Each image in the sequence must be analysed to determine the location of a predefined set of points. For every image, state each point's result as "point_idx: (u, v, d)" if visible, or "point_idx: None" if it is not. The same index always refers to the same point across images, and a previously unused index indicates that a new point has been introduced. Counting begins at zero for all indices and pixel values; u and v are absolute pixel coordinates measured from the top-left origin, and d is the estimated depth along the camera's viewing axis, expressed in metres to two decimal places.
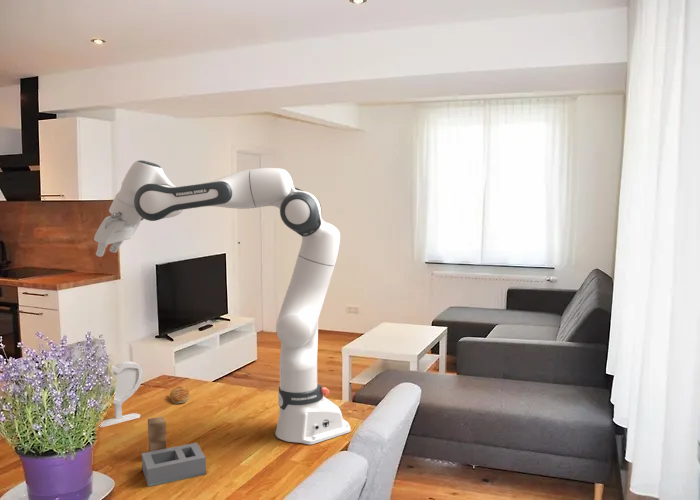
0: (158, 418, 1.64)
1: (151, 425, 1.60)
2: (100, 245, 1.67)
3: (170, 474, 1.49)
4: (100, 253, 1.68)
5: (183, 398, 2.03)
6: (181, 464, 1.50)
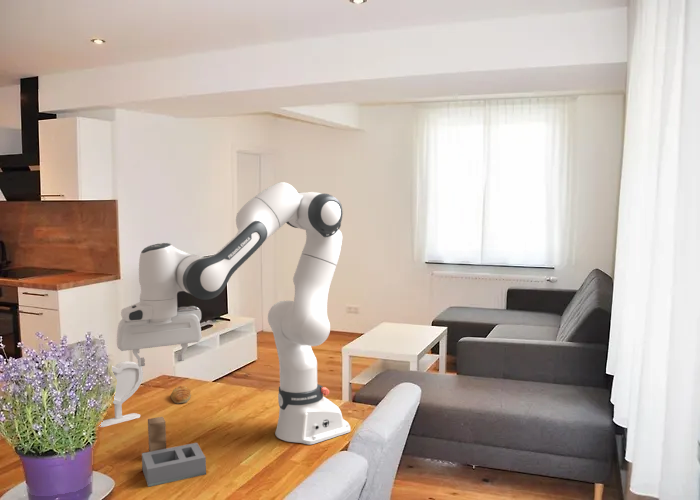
0: (158, 418, 1.64)
1: (151, 425, 1.60)
2: None
3: (170, 474, 1.49)
4: None
5: (185, 398, 2.03)
6: (181, 464, 1.50)
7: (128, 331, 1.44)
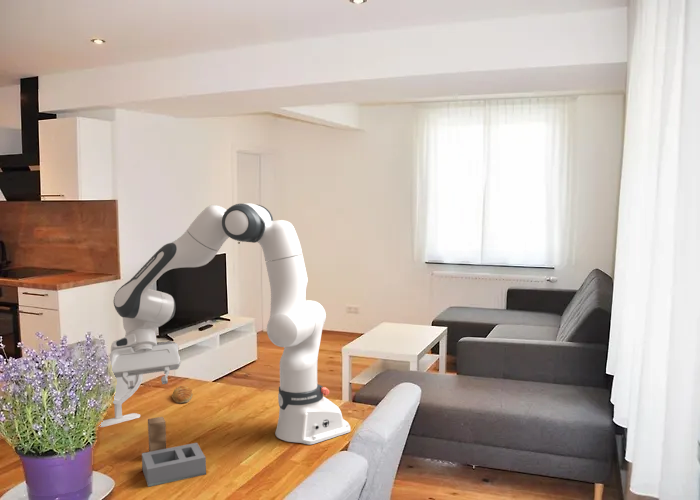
0: (158, 418, 1.64)
1: (151, 425, 1.60)
2: None
3: (170, 474, 1.49)
4: None
5: (186, 397, 2.04)
6: (181, 464, 1.50)
7: (117, 357, 1.73)
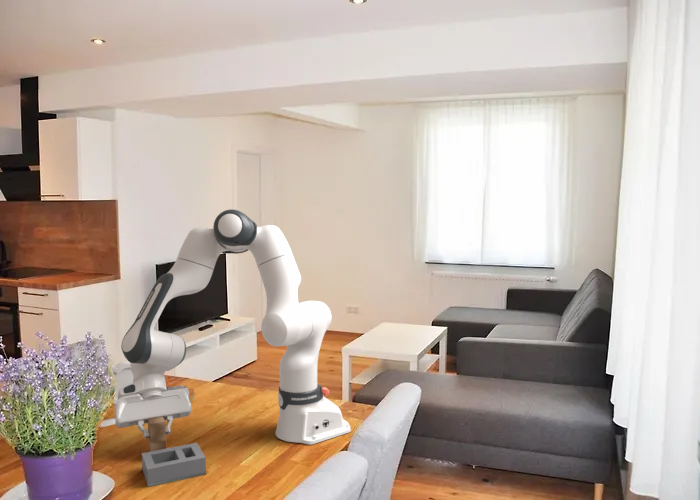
0: (158, 418, 1.64)
1: (151, 425, 1.60)
2: (172, 420, 1.66)
3: (170, 474, 1.49)
4: None
5: (190, 396, 2.04)
6: (181, 464, 1.50)
7: (124, 405, 1.63)
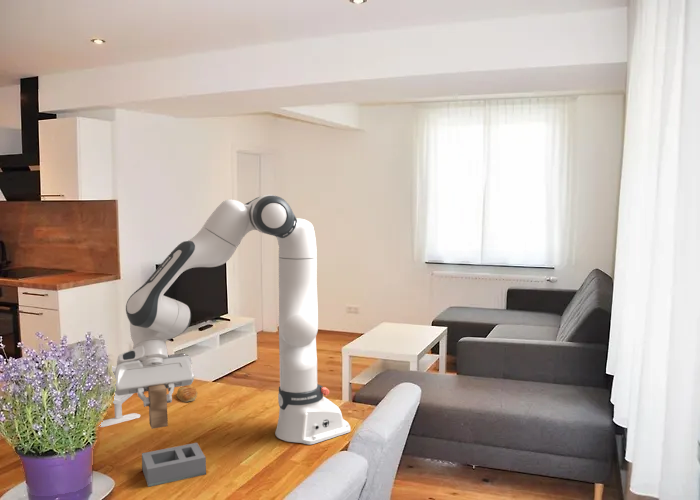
0: (159, 386, 1.56)
1: (151, 392, 1.53)
2: (173, 388, 1.59)
3: (170, 474, 1.49)
4: None
5: (192, 396, 2.05)
6: (181, 464, 1.50)
7: (123, 372, 1.56)
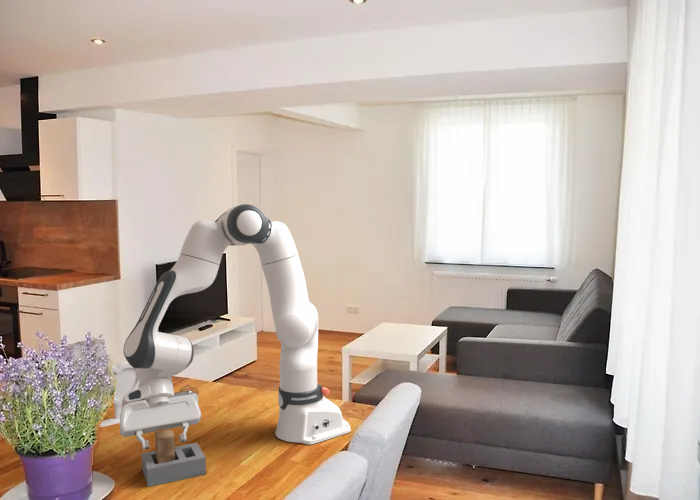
0: (166, 431, 1.53)
1: (159, 439, 1.50)
2: None
3: (170, 474, 1.49)
4: None
5: None
6: (181, 464, 1.50)
7: (129, 412, 1.52)
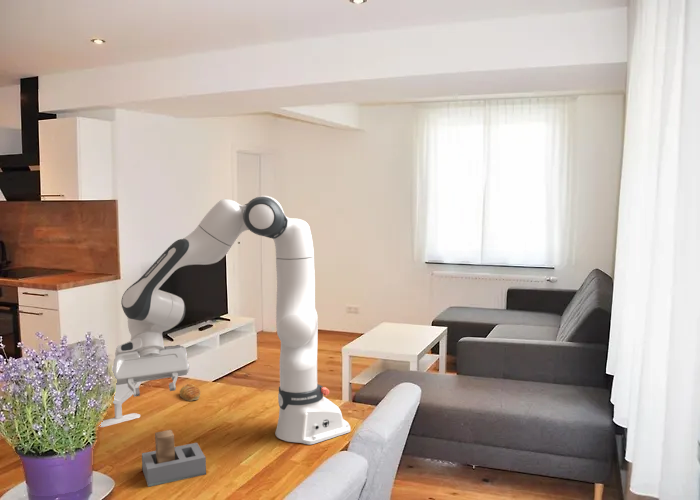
0: (166, 431, 1.53)
1: (159, 439, 1.49)
2: (177, 377, 1.67)
3: (170, 474, 1.49)
4: None
5: (196, 395, 2.06)
6: (181, 464, 1.50)
7: (121, 362, 1.63)
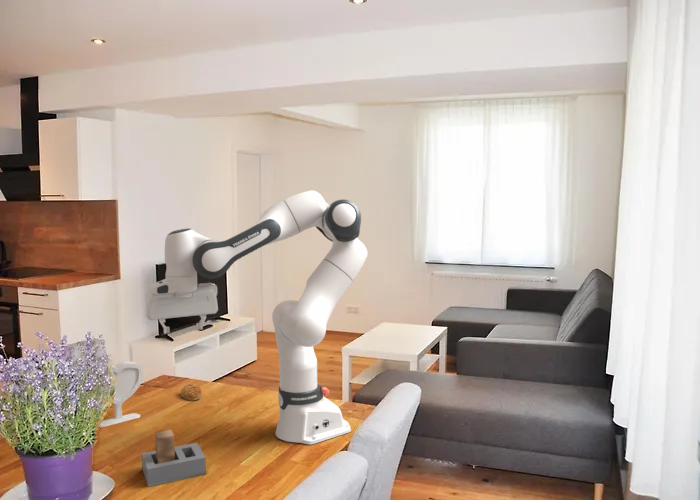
0: (166, 431, 1.53)
1: (159, 439, 1.49)
2: None
3: (170, 474, 1.49)
4: None
5: (198, 394, 2.06)
6: (181, 464, 1.50)
7: (156, 303, 1.69)
